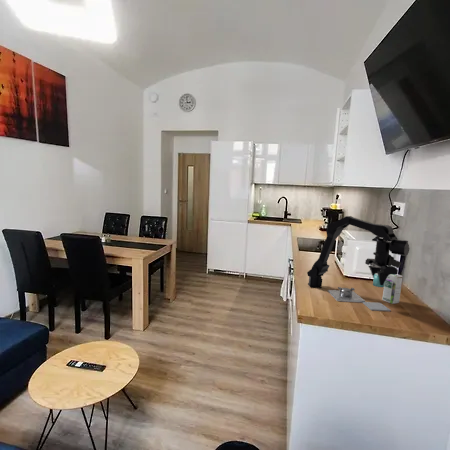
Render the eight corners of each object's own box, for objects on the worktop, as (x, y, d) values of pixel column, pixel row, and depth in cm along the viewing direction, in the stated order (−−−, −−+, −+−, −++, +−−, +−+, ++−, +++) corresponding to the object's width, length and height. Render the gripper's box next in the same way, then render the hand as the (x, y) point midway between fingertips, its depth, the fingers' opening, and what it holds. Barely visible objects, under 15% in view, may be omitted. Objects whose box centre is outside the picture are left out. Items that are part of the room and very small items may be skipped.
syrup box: (381, 300, 148) (384, 273, 146) (389, 298, 150) (392, 272, 148) (391, 304, 142) (395, 276, 141) (399, 302, 145) (403, 275, 143)
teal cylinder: (370, 284, 137) (371, 273, 137) (376, 283, 140) (378, 272, 139) (380, 287, 133) (381, 276, 132) (386, 286, 135) (387, 275, 135)
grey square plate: (337, 301, 143) (338, 291, 142) (327, 291, 157) (328, 283, 156) (365, 302, 143) (366, 293, 142) (353, 292, 156) (354, 284, 156)
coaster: (371, 310, 133) (371, 309, 133) (362, 302, 142) (362, 301, 142) (390, 311, 133) (390, 310, 133) (380, 303, 142) (380, 302, 142)
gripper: (411, 256, 125) (407, 291, 127) (388, 248, 144) (385, 278, 145) (386, 255, 125) (382, 289, 127) (366, 247, 144) (363, 277, 146)
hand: (378, 283), depth 136 cm, fingers closed on teal cylinder, 5 cm apart
